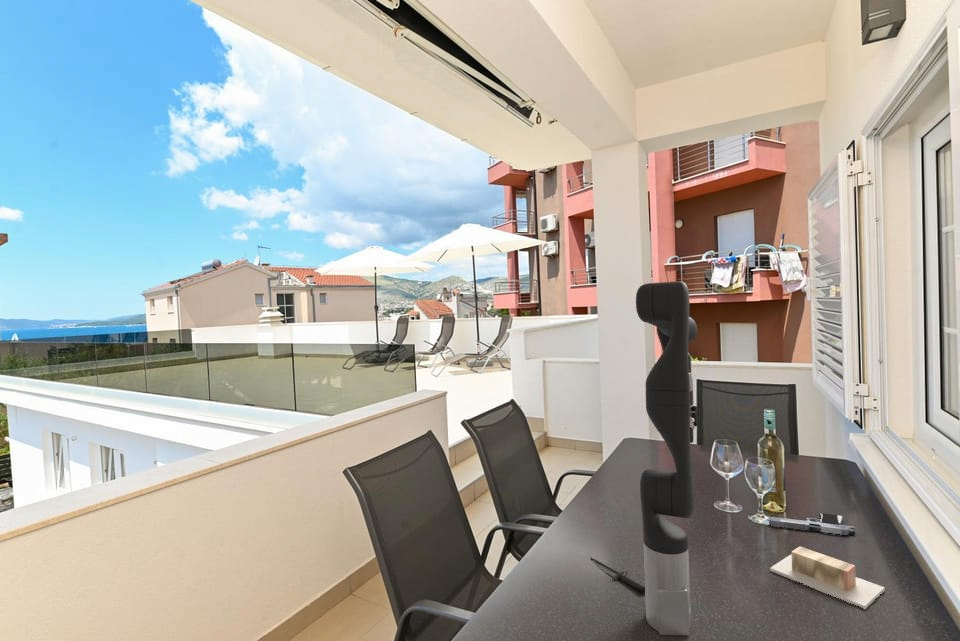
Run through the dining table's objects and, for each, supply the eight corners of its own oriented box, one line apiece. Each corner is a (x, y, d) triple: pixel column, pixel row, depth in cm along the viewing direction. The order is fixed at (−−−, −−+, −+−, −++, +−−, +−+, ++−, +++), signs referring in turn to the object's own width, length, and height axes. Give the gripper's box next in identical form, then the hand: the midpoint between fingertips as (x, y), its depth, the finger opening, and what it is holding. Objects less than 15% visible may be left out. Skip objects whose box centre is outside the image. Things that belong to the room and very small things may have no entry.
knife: (570, 553, 135) (584, 546, 138) (571, 559, 135) (584, 552, 138) (637, 591, 113) (651, 582, 116) (638, 598, 113) (652, 590, 116)
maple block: (800, 563, 124) (855, 584, 114) (792, 569, 121) (848, 591, 111) (799, 546, 124) (855, 565, 114) (791, 551, 121) (847, 571, 111)
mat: (884, 590, 112) (884, 587, 112) (864, 609, 106) (864, 606, 106) (792, 556, 129) (792, 553, 129) (770, 570, 123) (770, 567, 123)
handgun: (764, 505, 158) (769, 520, 147) (846, 515, 149) (858, 531, 138) (764, 512, 158) (769, 527, 147) (846, 522, 149) (859, 539, 138)
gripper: (674, 392, 127) (676, 452, 128) (705, 386, 135) (707, 443, 135) (651, 389, 134) (653, 446, 134) (681, 384, 141) (683, 437, 142)
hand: (680, 444), depth 135 cm, fingers open, 8 cm apart
